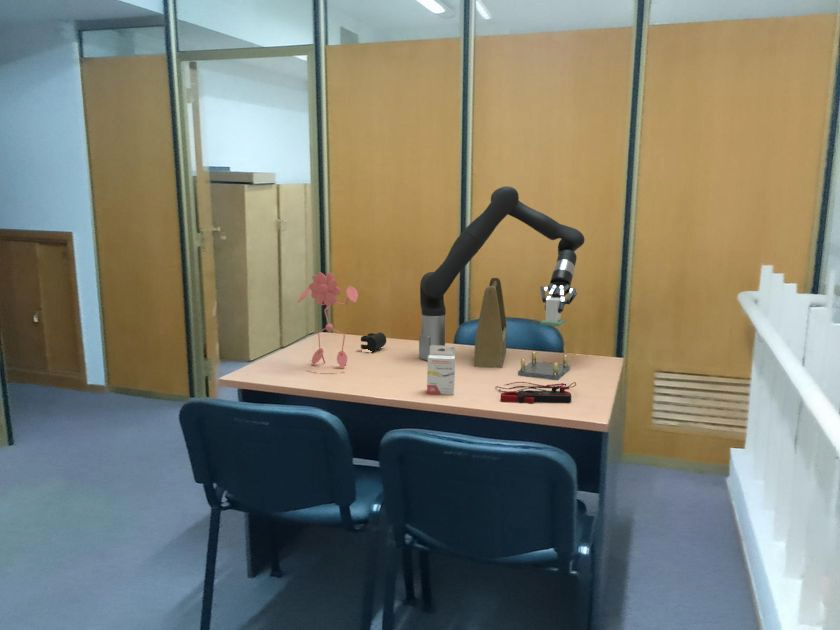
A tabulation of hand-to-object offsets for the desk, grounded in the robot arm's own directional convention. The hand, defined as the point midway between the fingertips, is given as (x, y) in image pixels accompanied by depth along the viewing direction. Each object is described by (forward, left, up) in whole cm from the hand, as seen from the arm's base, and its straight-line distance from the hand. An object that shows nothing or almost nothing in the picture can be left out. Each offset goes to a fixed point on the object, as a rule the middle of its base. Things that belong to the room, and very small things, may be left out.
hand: (553, 311), depth 242 cm
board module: (0, 0, -5) cm, 5 cm away
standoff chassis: (-8, -4, -21) cm, 23 cm away
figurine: (-71, +43, -21) cm, 85 cm away
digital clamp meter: (-29, -22, -22) cm, 42 cm away
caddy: (-10, +23, -21) cm, 33 cm away
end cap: (-41, +60, -21) cm, 75 cm away
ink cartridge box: (-54, -5, -21) cm, 58 cm away
